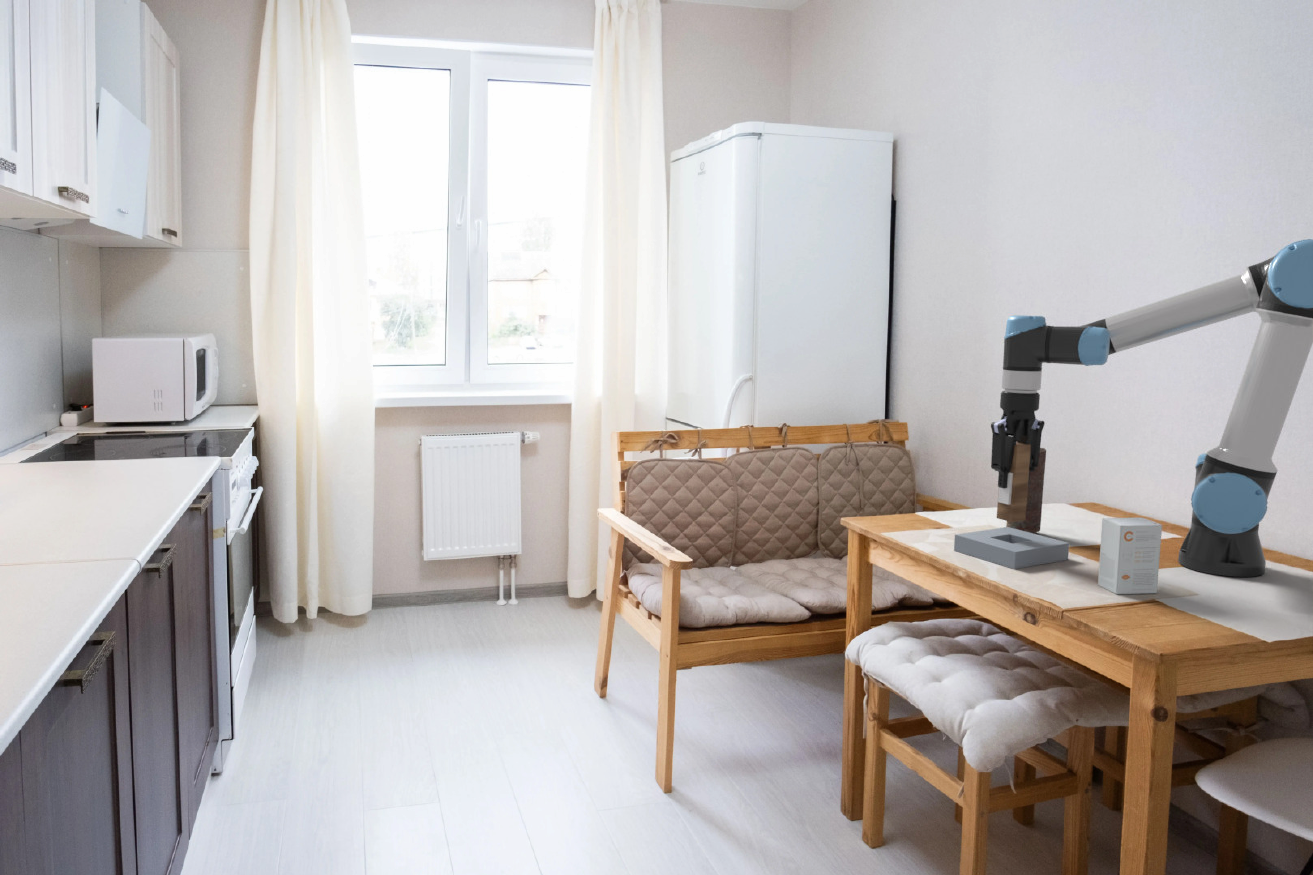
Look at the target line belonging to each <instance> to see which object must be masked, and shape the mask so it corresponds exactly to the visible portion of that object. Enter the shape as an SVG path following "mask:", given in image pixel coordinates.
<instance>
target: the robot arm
mask: <svg viewBox="0 0 1313 875" xmlns="http://www.w3.org/2000/svg"><path fill="white" fill-rule="evenodd" d="M1254 312H1255V313H1257V315H1258V316H1259V317H1260V319H1261V322H1260V325H1259V329H1258V331H1257V334H1256V336H1255V339H1254V343H1253V345H1252V349H1251V351H1250V354H1249V357H1248V361H1247V363H1246V366H1245V369H1244V372H1243V375H1242V378H1241V381H1240V384H1239V387H1238V389H1237V392H1236V395H1235V397H1234V398H1235V399H1234V400H1233V404H1232V407H1231V410H1230V413H1229V415H1228V418H1227V421H1226V425H1225V427H1224V430H1223V434H1222V436H1221V440H1220V442H1219V445H1217V446H1215V448H1212V449H1210V450H1208V451H1206V453H1205V452H1204V453H1201V454H1199V455H1198V456H1197V460H1196V464H1195V466H1194V467H1195V479H1194V488H1193V491H1192V494H1191V497H1190V498H1191V499H1190V500H1191V504H1190V505H1191V508H1192V512H1191V524H1190V527H1189V530H1188V532H1187V534H1186V535H1185V538H1184V540H1183V542H1182V543H1181V546H1180V548H1179V551H1178V558H1177V559H1178V561H1177V563H1179V565H1181V566H1183V567H1185V568H1188V569H1190V570H1194V571H1196V572H1201V573H1206V574H1211V575H1217V576H1222V577H1223V576H1225V577H1235V578H1236V577H1239V578H1245V577H1246V578H1249V577H1250V578H1251V577H1259V576H1263V575H1264V574H1265V573H1266V566H1267V564H1266V563H1267V562H1266V558H1265V554H1264V550H1263V547H1262V543H1261V538H1260V536H1259V528H1260V522H1261V521H1262V520H1263V519H1264V518H1265V515H1266V513H1267V511H1268V503H1269V502H1268V498H1269V496H1270V493H1271V490H1272V487H1273V484H1274V482H1275V479H1276V477H1277V476H1276V475H1277V473H1278V468H1277V467H1276V465H1275V463H1274V462H1273V459H1272V458H1273V455H1274V453H1275V450H1276V447H1277V444H1278V441H1279V440H1280V437H1281V436H1280V435H1281V433H1282V430H1283V427H1284V425H1285V422H1286V419H1287V417H1288V416H1287V415H1288V414H1289V410H1290V408H1291V406H1292V403H1293V402H1292V401H1293V399H1294V397H1295V394H1296V392H1297V388H1298V386H1299V382H1300V380H1301V377H1302V374H1303V371H1304V368H1305V367H1306V366H1305V365H1306V363H1307V361H1308V357H1309V354H1310V352H1311V349H1312V346H1313V239H1310V238H1308V239H1301V240H1297V241H1294V242H1292V243H1290V244H1288V245H1286V246H1284V247H1283V248H1282V249H1280V251H1278V252H1277V254H1275V255H1274V256H1272V257H1269V258H1268V259H1265V260H1264V261H1261V262H1258V263H1256V264H1255V263H1254V264H1253V265H1250V266H1247V267H1246V266H1245V269H1244V270H1243V272H1242V273H1240V274H1238V275H1236V276H1233V277H1229V278H1226V279H1224V280H1220V281H1218V282H1214V283H1211V284H1208V285H1205V286H1202V287H1199V288H1195V289H1192V290H1188V291H1186V292H1183V293H1180V294H1177V295H1174V296H1171V297H1167V298H1165V299H1162V300H1158V301H1155V302H1153V303H1149V304H1146V305H1143V306H1139V307H1137V308H1134V309H1131V310H1127V311H1124V312H1120V313H1117V314H1114V315H1111V316H1109V317H1105V318H1103V319H1100V320H1099V319H1098V320H1096V321H1093V322H1091V323H1087V324H1083V325H1080V326H1079V325H1078V326H1062V325H1061V326H1054V325H1047V322H1046V321H1047V320H1046V317H1045V316H1042V315H1017V314H1016V315H1011V316H1009V317H1008V318H1007V320H1006V326H1005V327H1006V328H1005V334H1004V337H1003V338H1004V340H1003V343H1004V345H1003V362H1002V363H1003V364H1002V376H1001V378H1002V379H1001V388H1002V389H1003V390H1002V391H1001V392H1000V402H999V403H1000V404H999V408H1000V409H1001V410H1002V415H1001V418H1000V420H998V421H997V422H994V421H993V422H991V424H990V428H991V432H992V433H991V434H992V438H991V439H992V440H991V441H992V442H991V460H990V462H991V463H990V464H991V466H990V467H991V468H990V469H992V470H994V471H995V472H998V478H997V479H998V480H997V487H998V491H999V494H998V493H997V503H998V502H1000V503H1004V504H1008V505H1009V504H1011V494H1012V481H1013V473H1010V470H1011V465H1012V461H1013V456H1014V446H1015V445H1016V442H1017V443H1022V444H1030V445H1031V450H1030V463H1029V476H1028V485H1029V478H1030V471H1032V472H1034V471H1035V468H1034V467H1038V464H1039V454H1040V448H1041V442H1042V441H1041V440H1042V433H1043V430H1044V427H1045V421H1044V420H1038V419H1037V418H1036V414H1035V413H1036V412H1037V411H1038V410H1039V409H1040V398H1041V397H1040V393H1039V392H1038V391H1040V390H1041V386H1042V374H1043V373H1042V372H1043V370H1042V369H1043V367H1042V366H1043V364H1045V363H1046V364H1058V365H1059V364H1060V365H1061V364H1062V365H1081V366H1086V367H1090V366H1103V365H1105V364H1106V363H1107V362H1108V358H1109V356H1110V355H1113V354H1116V353H1119V352H1123V351H1126V350H1129V349H1132V348H1136V347H1139V346H1143V345H1146V344H1150V343H1152V342H1157V341H1159V340H1162V339H1166V338H1170V337H1173V336H1177V335H1179V334H1183V333H1186V332H1189V331H1190V332H1191V331H1194V330H1196V329H1200V328H1203V327H1207V326H1209V325H1210V326H1211V325H1213V324H1216V323H1221V322H1223V321H1227V320H1230V319H1233V318H1236V317H1237V318H1238V317H1239V316H1244V315H1246V314H1247V315H1248V314H1250V313H1254ZM1032 460H1033V461H1032Z"/></svg>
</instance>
